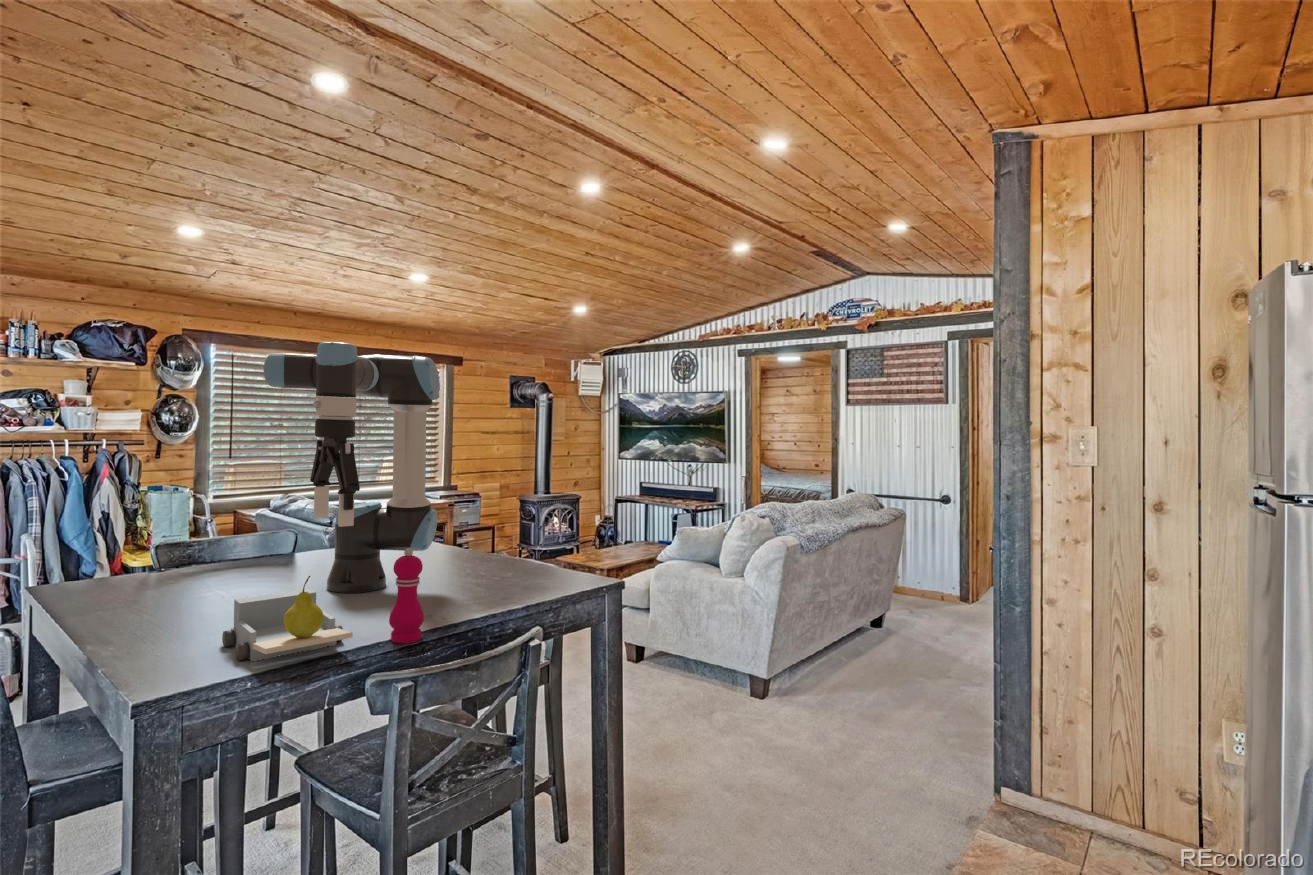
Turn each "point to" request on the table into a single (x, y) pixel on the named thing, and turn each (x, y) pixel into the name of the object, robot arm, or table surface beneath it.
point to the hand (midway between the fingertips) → (333, 521)
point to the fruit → (303, 616)
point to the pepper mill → (407, 600)
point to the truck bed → (276, 634)
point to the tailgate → (301, 641)
